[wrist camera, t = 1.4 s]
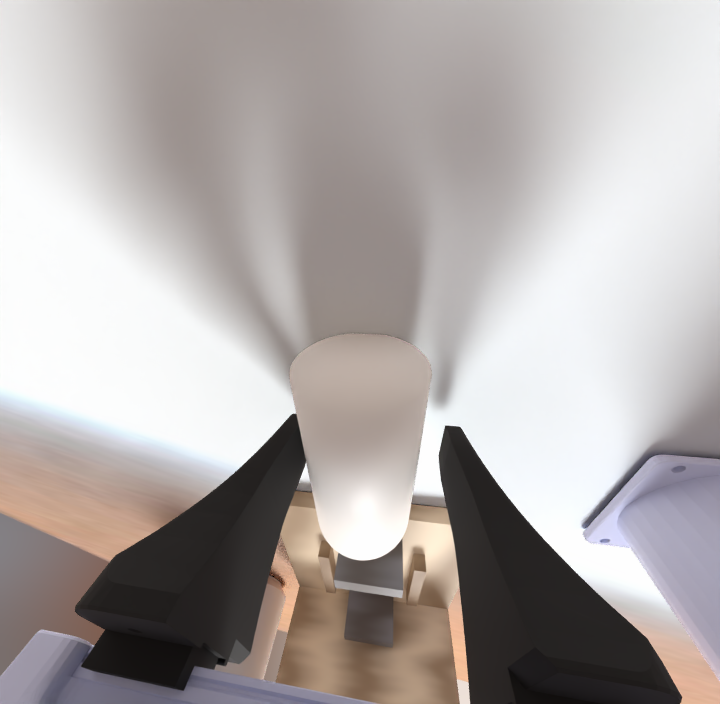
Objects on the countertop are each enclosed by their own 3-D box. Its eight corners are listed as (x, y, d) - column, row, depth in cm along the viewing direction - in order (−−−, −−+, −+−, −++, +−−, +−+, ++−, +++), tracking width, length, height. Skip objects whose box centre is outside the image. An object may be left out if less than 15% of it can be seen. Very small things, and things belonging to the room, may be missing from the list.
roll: (435, 340, 10) (424, 431, 6) (414, 476, 15) (401, 577, 11) (324, 327, 11) (257, 395, 7) (337, 456, 16) (300, 540, 12)
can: (210, 564, 28) (102, 777, 18) (269, 565, 26) (186, 805, 16) (245, 591, 31) (172, 782, 21) (299, 594, 29) (248, 805, 19)
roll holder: (482, 512, 16) (531, 691, 10) (444, 599, 25) (459, 726, 19) (274, 488, 18) (214, 632, 12) (304, 577, 26) (277, 688, 20)
